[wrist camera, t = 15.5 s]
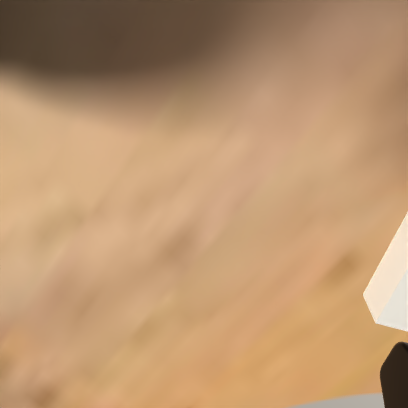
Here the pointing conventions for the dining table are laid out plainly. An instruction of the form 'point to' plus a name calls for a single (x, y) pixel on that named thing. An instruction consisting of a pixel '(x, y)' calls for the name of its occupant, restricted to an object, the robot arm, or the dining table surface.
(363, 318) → the dining table surface
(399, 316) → the keyhole board
